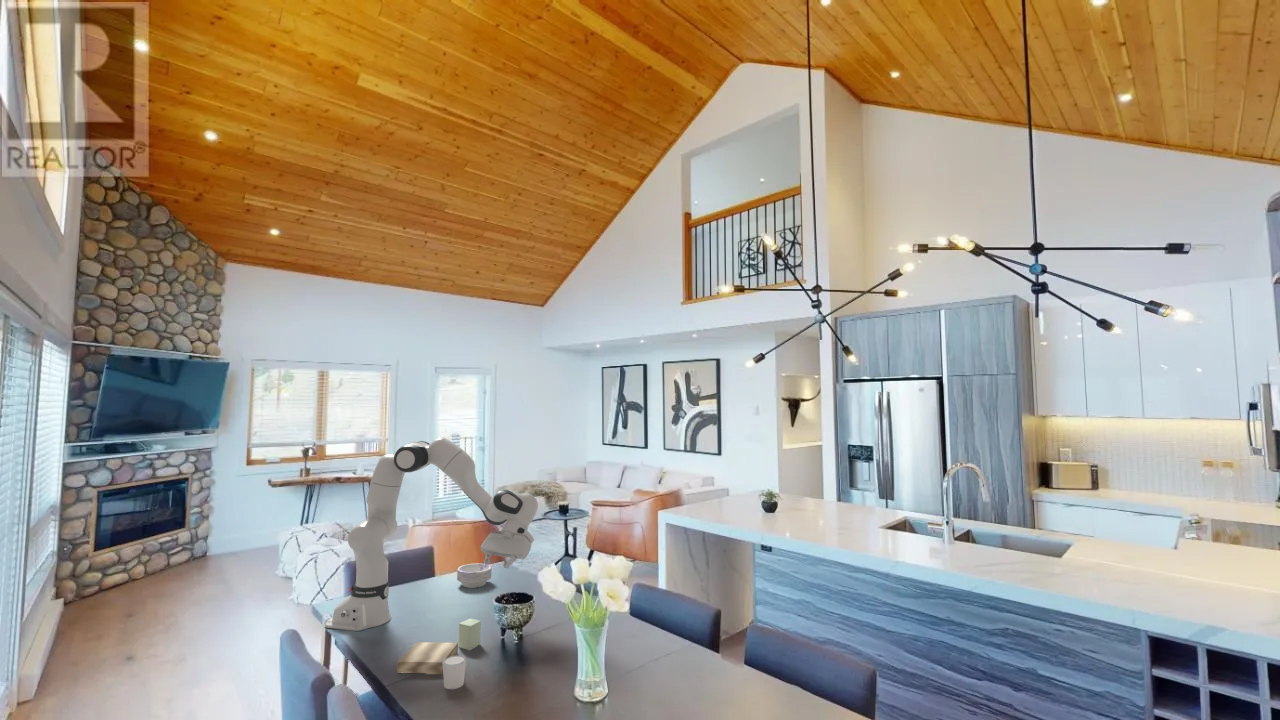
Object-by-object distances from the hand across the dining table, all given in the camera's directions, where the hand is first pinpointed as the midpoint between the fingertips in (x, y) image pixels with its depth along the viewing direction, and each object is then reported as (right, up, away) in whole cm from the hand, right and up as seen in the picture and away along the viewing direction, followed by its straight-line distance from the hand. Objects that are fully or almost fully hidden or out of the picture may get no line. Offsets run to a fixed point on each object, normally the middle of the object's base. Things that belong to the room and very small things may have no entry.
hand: (495, 565), depth 206 cm
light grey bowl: (-23, -28, +51) cm, 62 cm away
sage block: (-6, -23, -13) cm, 27 cm away
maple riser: (-15, -23, -25) cm, 37 cm away
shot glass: (-2, -21, -39) cm, 44 cm away
